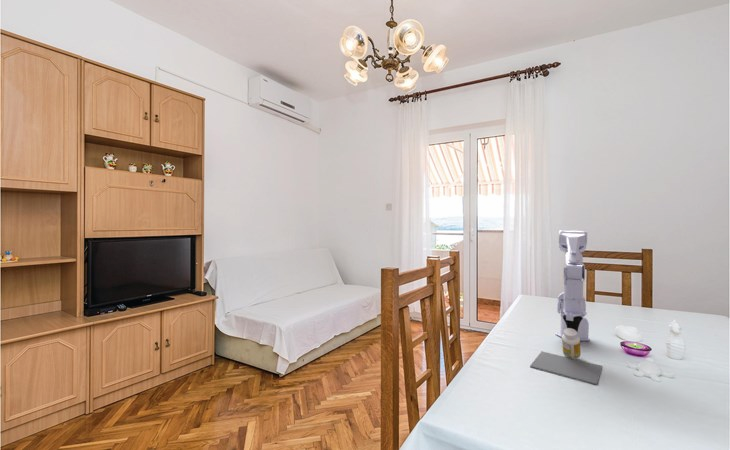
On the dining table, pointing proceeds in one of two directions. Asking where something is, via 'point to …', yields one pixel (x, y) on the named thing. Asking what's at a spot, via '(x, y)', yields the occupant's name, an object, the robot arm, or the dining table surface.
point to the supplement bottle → (571, 343)
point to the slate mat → (568, 367)
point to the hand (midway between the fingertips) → (572, 336)
